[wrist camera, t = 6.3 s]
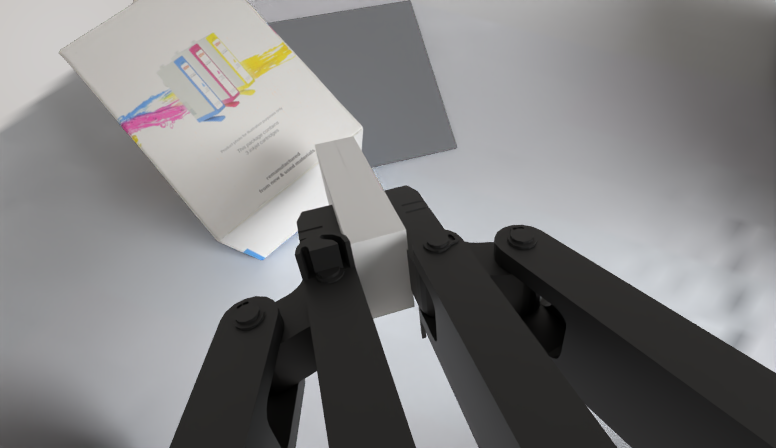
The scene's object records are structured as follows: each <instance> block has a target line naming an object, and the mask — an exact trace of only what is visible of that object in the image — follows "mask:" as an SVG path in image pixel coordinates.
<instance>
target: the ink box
mask: <svg viewBox="0 0 776 448" xmlns="http://www.w3.org/2000/svg"><path fill="white" fill-rule="evenodd" d="M59 54H60V55H61V56H62V57H63V58H64V59H65V60H66V61H67V62H68V63H69V64H70V65H71V67H72V68H73V69H74V70H75V71H76V73H77V74H78V75H79V76H80V77H81V79H82V80H83V81H84V82H85V83H86V85H87V86H88V87H89V88H90V89H91V91H92V92H93V93H94V94H95V95H96V97H97V98H98V99H99V100H100V101H101V102H102V104H103V105H104V106H105V107H106V109H107V110H108V111H109V112H110V113H111V115H112V116H113V117H114V118H115V119H116V121H117V122H118V123H119V124H120V125H121V127H122V128H123V129H124V130H125V131H126V132H127V134H128V135H129V136H130V137H131V138H132V139H133V140H134V142H135V143H136V144H137V145H138V146H139V148H140V149H141V150H142V151H143V152H144V154H145V155H146V156H147V157H148V158H149V159H150V161H151V162H152V163H153V164H154V166H155V167H156V168H157V169H158V170H159V172H160V173H161V174H162V175H163V177H164V178H165V179H166V180H167V181H168V182H169V184H170V185H171V186H172V187H173V189H174V190H175V191H176V192H177V193H178V195H179V196H180V197H181V198H182V199H183V201H184V202H185V203H186V204H187V206H188V207H189V208H190V209H191V210H192V212H193V213H194V214H195V215H196V216H197V218H198V219H199V220H200V221H201V222H202V224H203V225H204V226H205V227H206V228H207V229H208V231H209V232H210V233H211V234H212V235H213V237H214V238H215V239H216V240H217V241H218V242H220V243H222V244H224V245H227V246H229V247H232V248H234V249H236V250H238V251H240V252H243V253H245V254H248V255H250V256H252V257H255V258H257V259H259V260H264V259H265V258H266V257H267V256H268V255H269V254H271V253H272V252H273V251H274V250H275V249H276V248H278V247H279V246H280V245H281V244H282V243H284V242H285V241H286V240H287V239H289V238H290V237H291V236H292V235H293V234H295V233H296V232H297V231H298V228H297V220H298V218H299V216H300V214H301V212H303V211H307V210H312V209H316V208H320V207H324V206H328V205H329V204H328V200H327V196H326V191H325V187H324V183H323V179H322V174H321V170H320V166H319V162H318V158H317V153H316V149H315V144H320V143H324V142H329V141H333V140H338V139H343V138H347V137H352V136H354V138H355V140H356V142H357V144H358V145H359V147H360V149H361V151H362V138H363V127H362V125H361V124H360V123H359V122H358V121H357V120H356V119H355V118H354V117H353V116H352V115H351V114H350V113H349V112H348V110H347V109H346V108H345V107H344V106H343V105H342V104H341V103H340V102H339V101H338V100H337V99H336V98H335V97H334V95H333V94H332V93H331V92H330V91H329V90H328V89H327V88H326V87H325V85H324V84H323V83H322V82H321V81H320V80H319V79H318V78H317V76H316V75H315V74H314V73H313V72H312V71H311V70H310V69H309V68H308V67H307V66H306V65H305V63H304V62H303V61H302V60H301V59H300V58H299V57H298V56H297V55H296V54H295V53H294V51H293V50H292V49H291V48H290V47H289V46H288V45H287V44H286V43H285V42H284V41H283V40H282V39H281V37H280V36H279V35H278V34H277V33H276V32H275V31H274V30H273V29H272V28H271V27H270V26H269V24H268V23H267V22H266V21H265V20H264V19H263V18H262V17H261V16H260V15H259V14H258V12H257V11H256V10H255V9H254V8H253V7H252V6H251V5H250V4H249V3H248V2H247V1H246V0H133V3H132V4H131V5H130V6H128V7H127V8H125V9H124V10H122V11H121V12H119V13H118V14H116V15H114V16H113V17H111V18H110V19H108V20H107V21H105V22H104V23H102V24H100V25H99V26H97V27H96V28H94V29H92V30H91V31H89V32H88V33H86V34H84V35H83V36H81V37H80V38H78V39H77V40H75V41H74V42H72V43H71V44H69V45H67V46H66V47H64V48H63V49H61V50H60V51H59Z"/></svg>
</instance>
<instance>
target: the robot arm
mask: <svg viewBox="0 0 776 448" xmlns="http://www.w3.org/2000/svg"><path fill="white" fill-rule="evenodd" d="M315 149H316V153H317V158H318V162H319V166H320V170H321V174H322V179H323V183H324V187H325V191H326V196H327V200H328V204H329V205H328V206H324V207H320V208H316V209H312V210H307V211H303V212H301V214H300V216H299V218H298V220H297V228H298V233H299V240H300V244H299V245H298V246H297V248H296V252H295V257H296V260H297V263H298V266H299V269H300V272H301V276H302V279H303V280H302V282H301V284H300V285H299V286H298V287H297V288H296V289H295V290H294V291H293V292H292V293H290V294H289V295H287V296H286V297H284V298H282V299H280V300H278V301H276V302H274V300H272V299H270V298H267V297H259V296H255V297H251V298H247V299H244V300H242V301H240V302H238V303H236V304H234V305H233V306H232V307H231V308H230V309H229V310H228V311H226V313H225V314H224V316H223V317H222V319H221V320H220V323H219V325H218V328H217V330H216V333H215V335H214V338H213V340H212V343H211V345H210V348H209V350H208V353H207V355H206V358H205V360H204V363H203V365H202V368H201V370H200V373H199V375H198V378H197V380H196V383H195V385H194V388H193V390H192V393H191V395H190V398H189V400H188V403H187V405H186V408H185V410H184V413H183V415H182V418H181V420H180V423H179V425H178V428H177V430H176V433H175V435H174V438H173V440H172V443H171V445H170V447H169V448H295V447H296V441H297V434H298V427H299V421H300V414H301V407H302V401H303V394H304V387H305V378H306V377H308V376H310V375H311V374H313V373H314V372H316V371H317V373H318V379H319V386H320V392H321V399H322V405H323V412H324V418H325V425H326V431H327V437H328V444H329V448H416V447H415V444H414V441H413V438H412V435H411V432H410V429H409V426H408V423H407V420H406V417H405V414H404V411H403V408H402V405H401V402H400V399H399V396H398V393H397V390H396V387H395V384H394V381H393V378H392V375H391V372H390V369H389V366H388V363H387V360H386V357H385V354H384V351H383V348H382V345H381V342H380V339H379V336H378V333H377V330H376V327H375V324H374V321H373V318H377V317H380V316H384V315H387V314H390V313H394V312H397V311H401V310H404V309H408V308H411V307H414V298H413V295H414V297H415V299H416V301H417V303H418V305H419V315H420V325H421V333H422V339H423V338H426V333H427V335H428V338H429V340H430V342H431V344H432V346H433V349H434V351H435V353H436V355H437V357H438V360H439V362H440V364H441V366H442V368H443V370H444V373H445V375H446V377H447V379H448V381H449V384H450V386H451V388H452V390H453V392H454V394H455V397H456V399H457V401H458V403H459V405H460V408H461V410H462V412H463V414H464V416H465V419H466V421H467V423H468V425H469V427H470V429H471V432H472V434H473V436H474V438H475V440H476V443H477V445H478V447H479V448H617V447H616V445H615V444H614V443H613V441H612V440H611V439H610V437H609V436H608V435H607V433H606V432H605V431H604V429H603V428H602V427H601V425H600V424H599V423H598V421H597V420H596V418H595V417H594V416H593V414H592V413H591V412H590V410H589V409H588V408H587V407H589V408H590V409H591V410H592V411H593V412H594V413H595V414H596V415H597V416H598V417H599V418H600V419H601V420H603V421H604V422H605V423H606V424H607V425H608V426H609V427H610V428H611V429H612V430H613V431H614V432H615V433H617V434H618V435H619V436H620V437H621V438H622V439H623V440H624V441H625V442H626V443H627V444H628V445H629V446H631V447H632V448H776V373H775V372H773V371H771V370H770V369H768V368H766V367H765V366H763V365H762V364H760V363H758V362H757V361H755V360H753V359H752V358H750V357H748V356H747V355H745V354H743V353H742V352H740V351H738V350H737V349H735V348H734V347H732V346H730V345H729V344H727V343H725V342H724V341H722V340H720V339H719V338H717V337H715V336H714V335H712V334H711V333H709V332H707V331H706V330H704V329H702V328H701V327H699V326H697V325H696V324H694V323H692V322H691V321H689V320H687V319H686V318H684V317H683V316H681V315H679V314H678V313H676V312H674V311H673V310H671V309H669V308H668V307H666V306H664V305H663V304H661V303H659V302H658V301H656V300H655V299H653V298H651V297H650V296H648V295H646V294H645V293H643V292H641V291H640V290H638V289H636V288H635V287H633V286H632V285H630V284H628V283H627V282H625V281H623V280H622V279H620V278H618V277H617V276H615V275H613V274H612V273H610V272H608V271H607V270H605V269H604V268H602V267H600V266H599V265H597V264H595V263H594V262H592V261H590V260H589V259H587V258H585V257H584V256H582V255H580V254H579V253H577V252H576V251H574V250H572V249H571V248H569V247H567V246H566V245H564V244H562V243H561V242H559V241H557V240H556V239H554V238H553V237H551V236H549V235H548V234H546V233H544V232H543V231H541V230H539V229H536V228H534V227H531V226H525V225H511V226H508V227H505V228H502V229H501V230H500V231H498V232H497V234H496V236H495V239H494V242H485V243H469V242H464V241H463V239H462V238H461V237H460V236H459V235H458V234H456V233H454V232H452V231H449V230H445V229H444V228H443V226H442V225H441V224H440V222H439V221H438V219H437V218H436V217H435V215H434V214H433V212H432V211H431V210H430V208H428V205H427V204H426V202H425V201H424V200H423V198H422V197H421V195H420V194H419V193H418V191H416V190H414V189H412V188H411V187H409V186H407V185H406V186H402V187H398V188H394V189H389V190H385V191H384V190H383V188H382V186H381V184H380V183H379V181H378V179H377V177H376V175H375V174H374V172H373V170H372V168H371V167H370V165H369V163H368V161H367V159H366V158H365V156H364V154H363V152H362V151H361V149H360V147H359V145H358V144H357V142H356V140H355V138H354V136H352V137H347V138H343V139H338V140H333V141H329V142H324V143H320V144H315Z"/></svg>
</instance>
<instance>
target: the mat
mask: <svg viewBox="0 0 776 448" xmlns="http://www.w3.org/2000/svg"><path fill="white" fill-rule="evenodd" d="M268 24H269V26H270V27H271V28H272V29H273V30H274V31H275V32H276V33H277V34H278V35H279V36H280V37H281V39H282V40H283V41H284V42H285V43H286V44H287V45H288V46H289V47H290V48H291V49H292V50H293V51H294V53H295V54H296V55H297V56H298V57H299V58H300V59H301V60H302V61H303V62H304V63H305V65H306V66H307V67H308V68H309V69H310V70H311V71H312V72H313V73H314V74H315V75H316V76H317V78H318V79H319V80H320V81H321V82H322V83H323V84H324V85H325V87H326V88H327V89H328V90H329V91H330V92H331V93H332V94H333V95H334V97H335V98H336V99H337V100H338V101H339V102H340V103H341V104H342V105H343V106H344V107H345V108H346V109H347V110H348V112H349V113H350V114H351V115H352V116H353V117H354V118H355V119H356V120H357V121H358V122H359V123H360V124H361V125H362V127H363V138H362V152H363V154H364V156H365V158H366V159H367V161H368V163H369V165H370V167H371V168H372V167H376V166H381V165H385V164H390V163H394V162H399V161H403V160H407V159H412V158H416V157H421V156H425V155H429V154H434V153H438V152H443V151H447V150H452V149H456V148H457V145H456V142H455V139H454V136H453V132H452V129H451V126H450V123H449V120H448V117H447V114H446V111H445V108H444V104H443V101H442V98H441V95H440V92H439V89H438V86H437V83H436V79H435V76H434V73H433V70H432V67H431V64H430V61H429V58H428V54H427V51H426V48H425V45H424V42H423V39H422V36H421V33H420V29H419V26H418V23H417V20H416V17H415V14H414V11H413V8H412V4H411V1H410V0H409V1H403V2H396V3H390V4H384V5H378V6H372V7H365V8H359V9H353V10H347V11H340V12H334V13H328V14H322V15H315V16H309V17H303V18H297V19H291V20H284V21H278V22H272V23H268Z"/></svg>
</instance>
